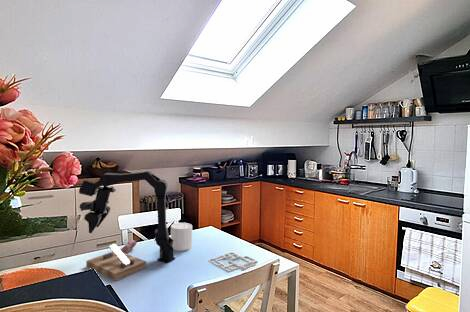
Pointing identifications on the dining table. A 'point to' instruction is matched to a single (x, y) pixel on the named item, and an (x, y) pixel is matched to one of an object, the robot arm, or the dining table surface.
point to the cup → (181, 236)
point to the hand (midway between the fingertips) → (93, 229)
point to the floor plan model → (225, 256)
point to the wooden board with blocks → (115, 266)
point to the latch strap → (119, 254)
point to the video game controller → (128, 246)
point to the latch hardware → (112, 256)
